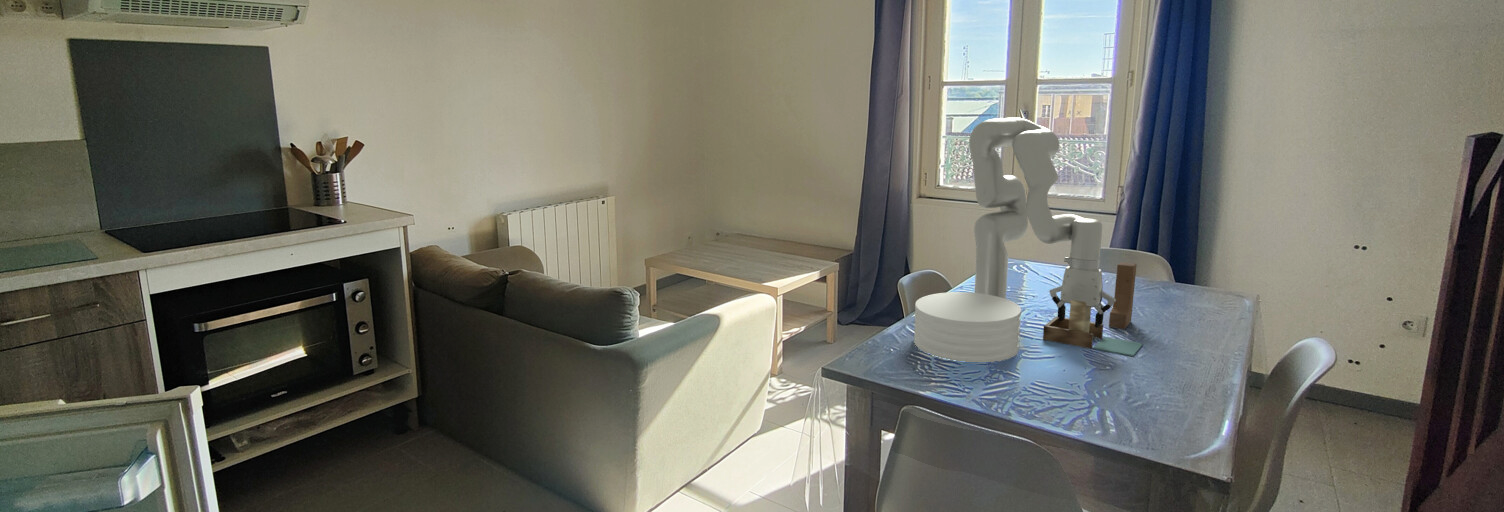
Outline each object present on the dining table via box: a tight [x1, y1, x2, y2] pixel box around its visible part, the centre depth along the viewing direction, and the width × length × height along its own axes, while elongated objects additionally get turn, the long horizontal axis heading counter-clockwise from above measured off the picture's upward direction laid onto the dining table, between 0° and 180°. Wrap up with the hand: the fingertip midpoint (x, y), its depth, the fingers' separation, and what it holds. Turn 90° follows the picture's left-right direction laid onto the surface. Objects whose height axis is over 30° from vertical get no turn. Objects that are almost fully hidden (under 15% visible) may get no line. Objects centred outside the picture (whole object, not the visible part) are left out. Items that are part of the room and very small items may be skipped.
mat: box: [1092, 336, 1144, 357], centre depth 212 cm, size 10×11×1 cm
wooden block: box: [1108, 261, 1138, 330], centre depth 229 cm, size 9×4×18 cm, turn 144°
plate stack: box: [913, 291, 1022, 363], centre depth 215 cm, size 28×28×12 cm
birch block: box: [1068, 300, 1092, 333], centre depth 217 cm, size 4×6×12 cm, turn 142°
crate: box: [1042, 315, 1104, 350], centre depth 219 cm, size 13×11×4 cm
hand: (1079, 323), depth 218 cm, fingers open, 9 cm apart
